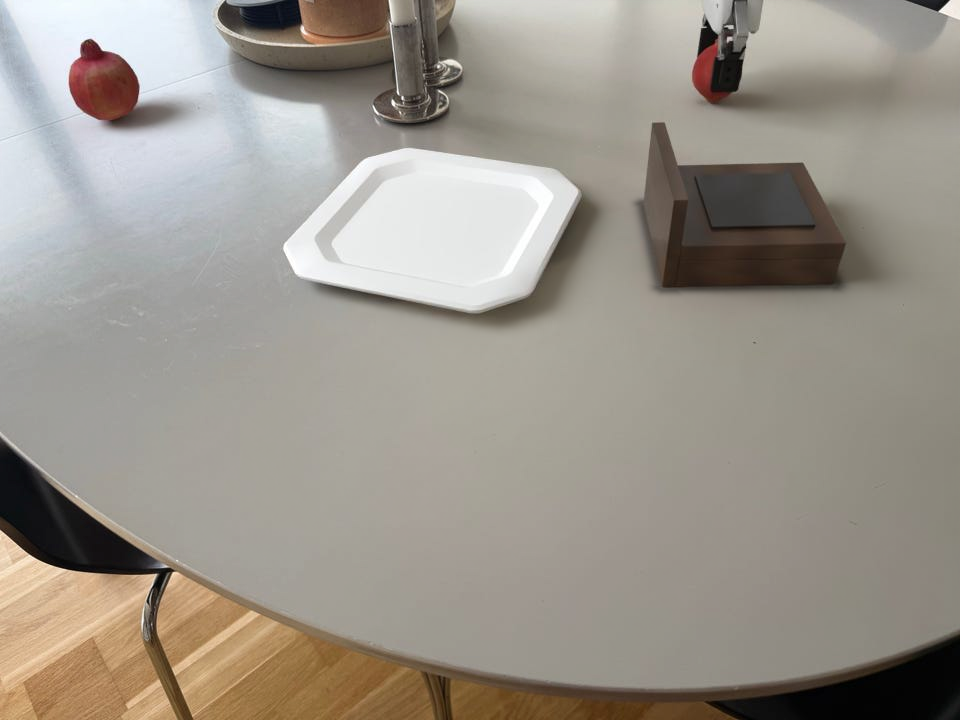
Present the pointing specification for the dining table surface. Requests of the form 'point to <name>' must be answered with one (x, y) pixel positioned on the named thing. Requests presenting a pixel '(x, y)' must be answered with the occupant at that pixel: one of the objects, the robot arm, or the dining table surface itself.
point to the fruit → (103, 83)
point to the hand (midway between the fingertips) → (716, 74)
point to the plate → (437, 229)
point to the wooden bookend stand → (737, 222)
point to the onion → (707, 74)
